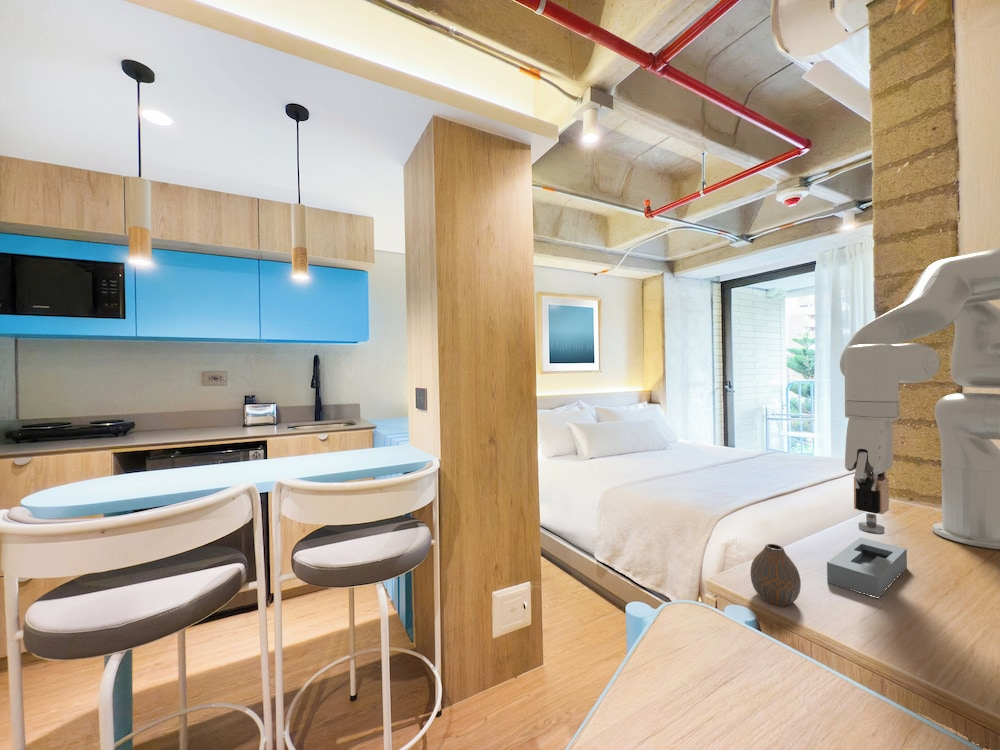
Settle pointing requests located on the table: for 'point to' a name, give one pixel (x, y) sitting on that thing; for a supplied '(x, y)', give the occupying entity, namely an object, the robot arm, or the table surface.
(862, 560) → the keyhole plate
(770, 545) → the vase
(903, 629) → the table surface
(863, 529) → the key
